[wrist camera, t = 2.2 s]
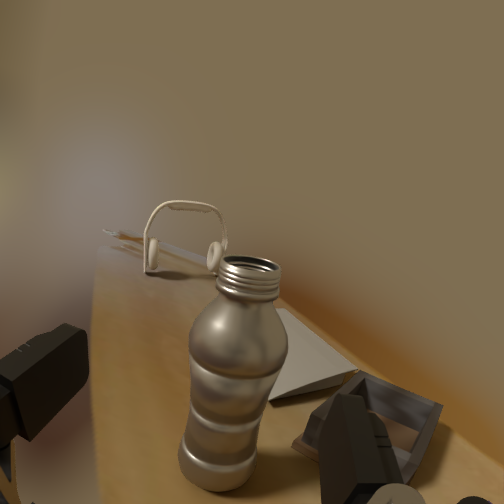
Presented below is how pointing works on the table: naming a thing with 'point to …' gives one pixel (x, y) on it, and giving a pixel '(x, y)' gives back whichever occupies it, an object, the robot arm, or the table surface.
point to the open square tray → (390, 412)
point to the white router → (307, 361)
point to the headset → (215, 248)
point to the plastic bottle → (232, 373)
